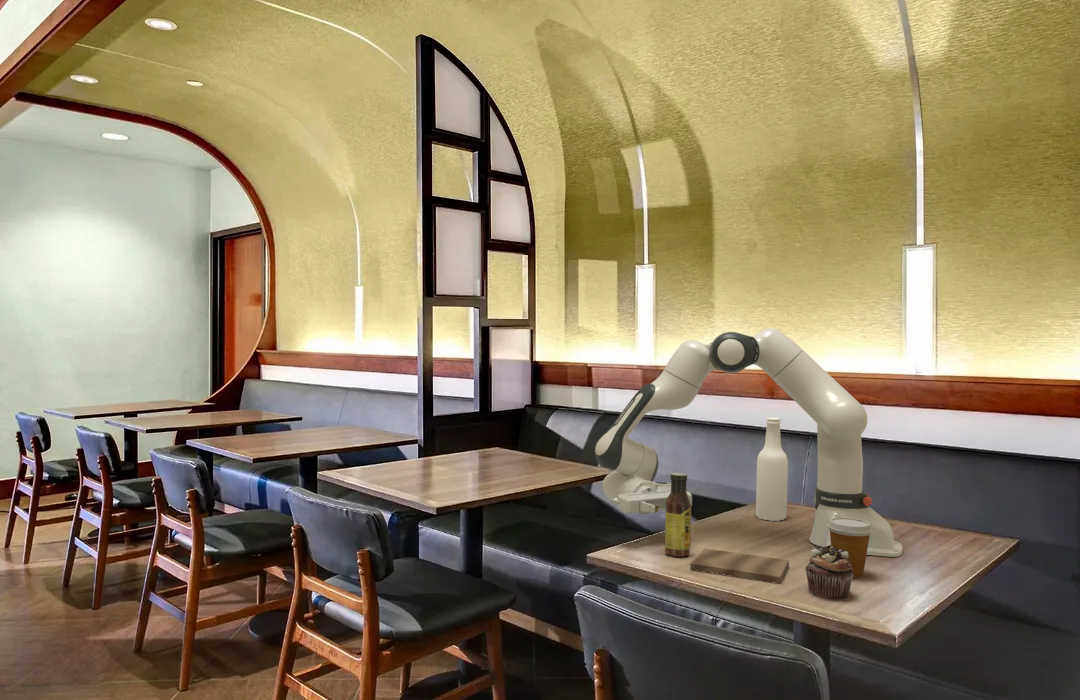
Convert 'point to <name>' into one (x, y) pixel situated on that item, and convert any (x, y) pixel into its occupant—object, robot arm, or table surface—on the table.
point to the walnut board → (741, 565)
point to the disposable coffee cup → (851, 540)
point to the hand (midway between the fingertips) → (671, 507)
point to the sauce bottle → (678, 518)
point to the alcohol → (772, 475)
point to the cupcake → (829, 573)
